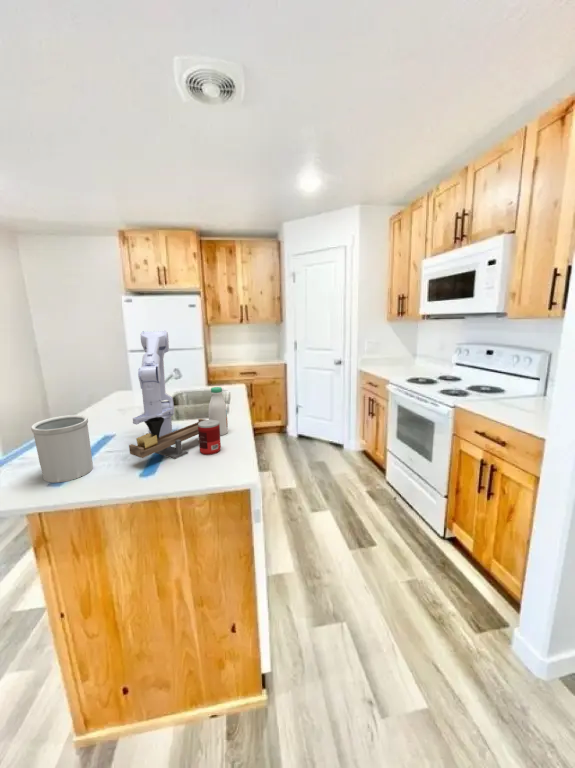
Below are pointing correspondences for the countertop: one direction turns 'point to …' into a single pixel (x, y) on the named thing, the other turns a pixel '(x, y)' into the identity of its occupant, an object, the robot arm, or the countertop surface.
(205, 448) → the canned food
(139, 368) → the robot arm
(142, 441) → the block
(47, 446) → the utensil holder
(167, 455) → the stand
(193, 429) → the beam
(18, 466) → the countertop surface
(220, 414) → the milk bottle
